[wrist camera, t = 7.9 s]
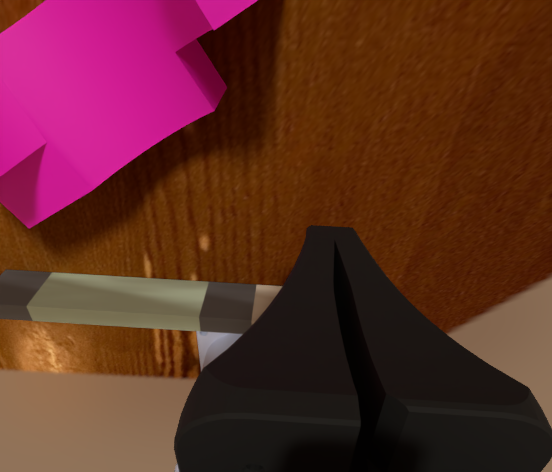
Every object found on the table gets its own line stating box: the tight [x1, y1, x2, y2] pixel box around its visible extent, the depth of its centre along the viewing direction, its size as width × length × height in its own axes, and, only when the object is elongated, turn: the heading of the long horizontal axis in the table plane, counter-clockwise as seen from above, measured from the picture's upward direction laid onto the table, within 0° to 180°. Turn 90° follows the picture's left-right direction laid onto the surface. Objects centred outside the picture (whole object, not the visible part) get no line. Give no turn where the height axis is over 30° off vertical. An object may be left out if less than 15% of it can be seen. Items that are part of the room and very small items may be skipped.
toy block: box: [0, 0, 258, 228], centre depth 16 cm, size 15×6×8 cm, turn 121°
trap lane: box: [0, 270, 282, 334], centre depth 19 cm, size 22×24×3 cm
